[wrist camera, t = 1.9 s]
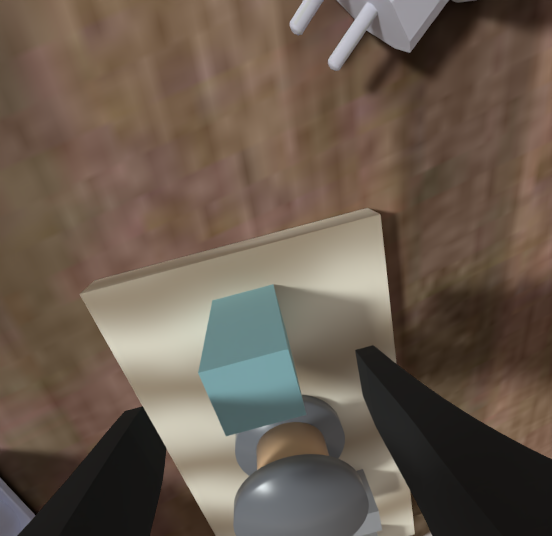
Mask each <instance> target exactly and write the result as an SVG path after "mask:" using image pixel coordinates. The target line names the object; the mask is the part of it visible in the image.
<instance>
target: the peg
mask: <svg viewBox="0 0 552 536" xmlns="http://www.w3.org/2000/svg"><path fill="white" fill-rule="evenodd" d="M198 374H199V376H200V379H201V381H202V383H203V385H204V388H205V390H206V392H207V394H208V397H209V399H210V401H211V404H212V406H213V408H214V410H215V413H216V415H217V417H218V419H219V422H220V424H221V426H222V429H223V431H224V433H225V435H226V436H230V435H233V434H237V433H241V432H244V431H248V430H252V429H255V428H259V427H263V426H267V425H270V424H274V423H278V422H281V421H285V420H289V419H293V418H296V417H300V416H304V415H306V411H305V407H304V402H303V398H302V394H301V390H300V386H299V382H298V378H297V373H296V369H295V365H294V361H293V357H292V353H291V349H290V344H289V340H288V336H287V332H286V329H285V325H284V321H283V318H282V314H281V310H280V307H279V303H278V299H277V296H276V292H275V289H274V285H273V284H272V285H268V286H265V287H261V288H257V289H253V290H250V291H246V292H242V293H239V294H235V295H231V296H227V297H224V298H220V299H216V300H212V305H211V310H210V315H209V320H208V325H207V330H206V335H205V340H204V346H203V351H202V356H201V361H200V366H199V371H198Z"/></svg>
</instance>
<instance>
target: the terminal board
mask: <svg viewBox="0 0 552 536" xmlns="http://www.w3.org/2000/svg"><path fill="white" fill-rule="evenodd" d="M272 284H273V285H274V289H275V292H276V296H277V299H278V303H279V307H280V310H281V314H282V318H283V321H284V325H285V329H286V332H287V336H288V340H289V344H290V349H291V353H292V357H293V361H294V365H295V369H296V373H297V378H298V382H299V386H300V390H301V394H302V395H308V396H313V397H316V398H319V399H321V400H323V401H324V402H326V403H327V404H329V405H330V406H331V407H332V408H333V409H334V410H335V411H336V413H337V415H338V417H339V419H340V422H341V425H342V428H343V431H344V434H345V444H344V448H343V451H342V453H341V455H340V457H339V458H338V459H340V460H342V461H344V462H346V463H348V464H349V465H350V466H352V467H353V468H354V469H355V470H356V471H358V470H361V469H363V470H364V473H365V476H366V478H367V481H368V484H369V486H370V489H371V492H372V494H373V497H374V500H375V502H376V505H377V508H378V510H379V515H380V521H381V526H382V530H381V531H377V535H378V536H410V535H414V534H415V531H414V522H413V513H412V503H411V494H410V489H409V487H408V485H407V484H406V482H405V480H404V478H403V476H402V474H401V473H400V471H399V469H398V467H397V465H396V463H395V462H394V460H393V458H392V456H391V454H390V452H389V450H388V449H387V447H386V445H385V443H384V441H383V439H382V438H381V436H380V434H379V432H378V430H377V428H376V426H375V424H374V422H373V419H372V417H371V415H370V412H369V410H368V407H367V405H366V402H365V400H364V398H363V394H362V389H361V383H360V377H359V371H358V365H357V359H356V354H355V350H357V349H361V348H364V347H368V346H372V345H373V346H375V347H377V348H378V349H379V350H380V351H381V352H383V353H384V354H385V355H386V356H387V357H389V358H390V359H391V360H392V361H394V362H395V363H396V355H395V345H394V336H393V327H392V317H391V308H390V299H389V289H388V280H387V271H386V261H385V252H384V243H383V233H382V224H381V215H380V214H379V213H377V212H375V211H373V210H371V209H369V208H366V209H362V210H358V211H355V212H351V213H347V214H343V215H340V216H336V217H332V218H328V219H324V220H321V221H317V222H313V223H309V224H306V225H302V226H298V227H294V228H291V229H287V230H283V231H279V232H276V233H272V234H268V235H264V236H261V237H257V238H253V239H249V240H245V241H242V242H238V243H234V244H230V245H227V246H223V247H219V248H215V249H212V250H208V251H204V252H200V253H197V254H193V255H189V256H185V257H181V258H178V259H174V260H170V261H166V262H163V263H159V264H155V265H151V266H148V267H144V268H140V269H136V270H133V271H129V272H125V273H121V274H118V275H114V276H110V277H106V278H102V279H99V280H95V281H94V282H93V283H91V284H90V285H89V286H88V287H87V288H86V289H85V290H84V291H83V292H81V293H80V296H81V297H82V299H83V301H84V303H85V305H86V306H87V308H88V310H89V312H90V313H91V315H92V317H93V319H94V321H95V322H96V324H97V326H98V328H99V329H100V331H101V333H102V335H103V337H104V338H105V340H106V342H107V344H108V345H109V347H110V349H111V351H112V352H113V354H114V356H115V358H116V360H117V361H118V363H119V365H120V367H121V368H122V370H123V372H124V374H125V376H126V377H127V379H128V381H129V383H130V384H131V386H132V388H133V390H134V392H135V393H136V395H137V397H138V399H139V400H140V402H141V404H142V406H143V407H144V409H145V411H146V413H147V414H148V416H149V418H150V420H151V422H152V423H153V425H154V427H155V429H156V430H157V432H158V434H159V436H160V438H161V439H162V441H163V443H164V445H165V446H166V448H167V450H168V452H169V454H170V455H171V457H172V459H173V461H174V463H175V464H176V466H177V468H178V470H179V471H180V473H181V475H182V477H183V478H184V480H185V482H186V484H187V486H188V487H189V489H190V491H191V493H192V494H193V496H194V498H195V500H196V502H197V503H198V505H199V507H200V509H201V510H202V512H203V514H204V516H205V518H206V519H207V521H208V523H209V525H210V526H211V528H212V530H213V532H214V533H215V535H216V536H236V535H235V532H234V527H233V520H234V500H235V496H236V493H237V491H238V489H239V488H240V486H241V485H242V483H243V482H244V481H245V480H246V479H247V478H248V477H249V475H247V474H246V473H245V472H244V471H243V470H242V469H241V468H240V466H239V464H238V462H237V460H236V455H235V437H236V434H233V435H230V436H226V435H225V433H224V431H223V429H222V426H221V424H220V422H219V419H218V417H217V415H216V413H215V410H214V408H213V406H212V404H211V401H210V399H209V397H208V394H207V392H206V390H205V388H204V385H203V383H202V381H201V379H200V376H199V374H198V371H199V366H200V361H201V356H202V351H203V346H204V340H205V335H206V330H207V325H208V320H209V315H210V310H211V305H212V300H216V299H220V298H224V297H227V296H231V295H235V294H239V293H242V292H246V291H250V290H253V289H257V288H261V287H265V286H268V285H272Z"/></svg>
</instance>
